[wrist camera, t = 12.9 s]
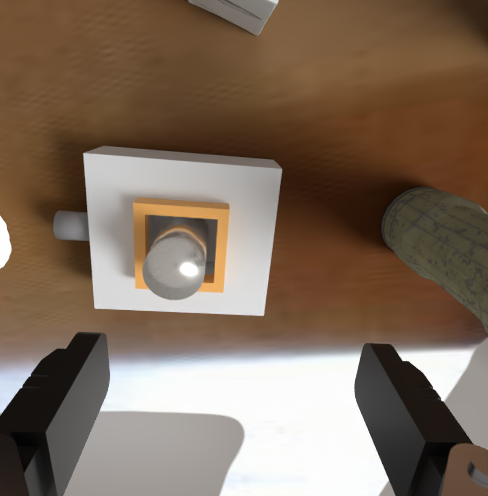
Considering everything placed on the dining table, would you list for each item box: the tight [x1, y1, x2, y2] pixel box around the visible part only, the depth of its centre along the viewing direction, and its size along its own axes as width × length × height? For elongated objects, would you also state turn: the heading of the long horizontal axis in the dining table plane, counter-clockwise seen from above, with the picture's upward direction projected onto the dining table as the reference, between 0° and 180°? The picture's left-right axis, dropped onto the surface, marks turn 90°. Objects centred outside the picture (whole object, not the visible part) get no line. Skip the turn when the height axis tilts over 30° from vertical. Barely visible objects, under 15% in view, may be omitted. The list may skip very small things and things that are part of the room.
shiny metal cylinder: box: [142, 216, 209, 300], centre depth 34 cm, size 5×5×10 cm
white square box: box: [53, 146, 282, 316], centre depth 37 cm, size 22×16×8 cm
